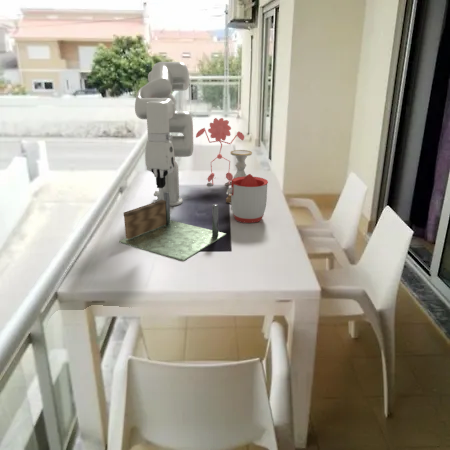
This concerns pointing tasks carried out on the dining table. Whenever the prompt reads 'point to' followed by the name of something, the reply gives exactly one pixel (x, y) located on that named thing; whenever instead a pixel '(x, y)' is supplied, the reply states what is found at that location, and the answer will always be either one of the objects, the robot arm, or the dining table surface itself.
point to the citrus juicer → (248, 198)
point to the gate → (145, 218)
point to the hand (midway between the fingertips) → (161, 187)
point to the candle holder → (239, 165)
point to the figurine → (219, 139)
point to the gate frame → (177, 236)
